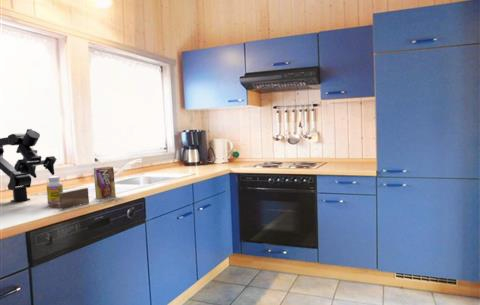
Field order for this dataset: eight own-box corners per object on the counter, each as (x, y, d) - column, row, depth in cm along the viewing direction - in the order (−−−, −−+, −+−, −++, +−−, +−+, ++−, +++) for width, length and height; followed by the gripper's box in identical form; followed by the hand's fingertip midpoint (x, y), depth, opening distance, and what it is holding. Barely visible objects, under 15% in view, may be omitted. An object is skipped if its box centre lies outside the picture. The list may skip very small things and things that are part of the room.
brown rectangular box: (47, 207, 165) (46, 192, 165) (74, 201, 178) (73, 187, 177) (62, 209, 161) (61, 193, 160) (88, 202, 173) (87, 188, 172)
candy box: (112, 195, 190) (110, 166, 189) (116, 196, 187) (114, 166, 186) (95, 198, 185) (93, 167, 184) (98, 199, 181) (96, 168, 180)
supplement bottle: (49, 206, 168) (47, 178, 168) (46, 204, 174) (44, 177, 173) (65, 203, 172) (63, 176, 171) (62, 201, 178) (60, 175, 177)
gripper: (39, 162, 191) (55, 184, 186) (3, 166, 174) (19, 190, 170) (48, 147, 186) (64, 169, 182) (11, 149, 170) (28, 174, 166)
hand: (45, 175), depth 175 cm, fingers open, 9 cm apart
